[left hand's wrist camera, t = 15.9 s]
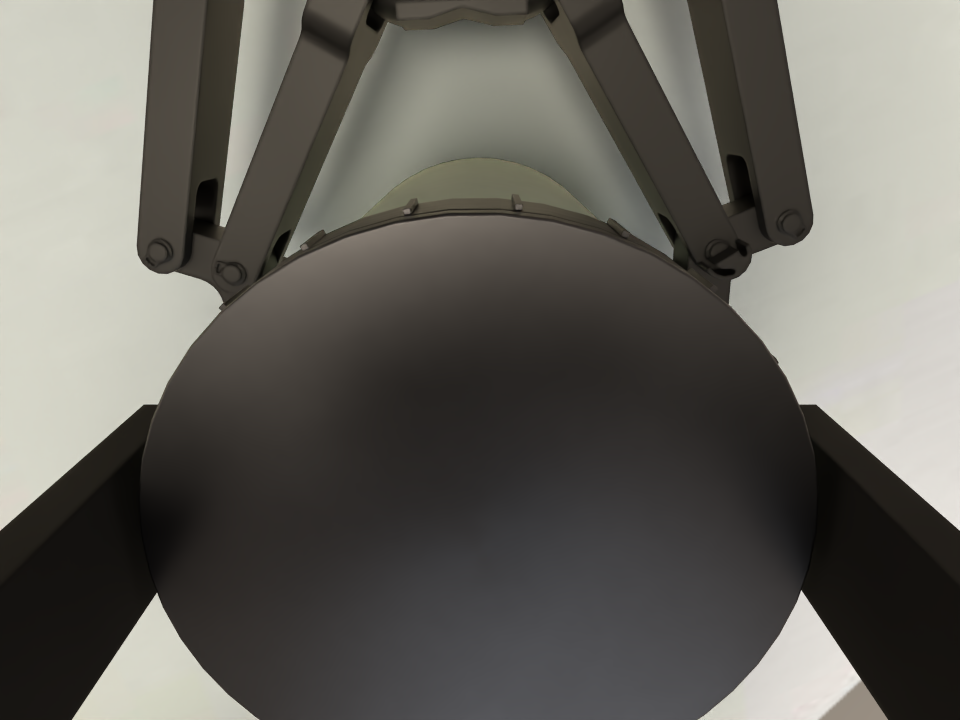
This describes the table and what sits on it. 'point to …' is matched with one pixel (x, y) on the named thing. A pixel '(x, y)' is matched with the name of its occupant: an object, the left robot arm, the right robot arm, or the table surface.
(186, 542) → the lid
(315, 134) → the right robot arm
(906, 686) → the left robot arm
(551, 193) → the jar
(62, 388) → the table surface
